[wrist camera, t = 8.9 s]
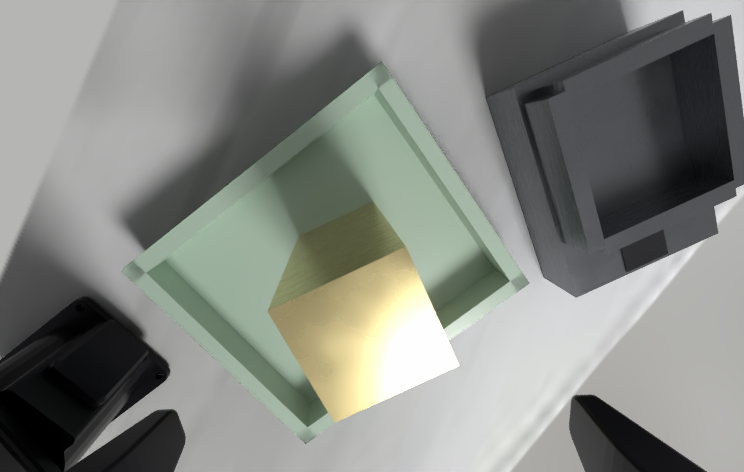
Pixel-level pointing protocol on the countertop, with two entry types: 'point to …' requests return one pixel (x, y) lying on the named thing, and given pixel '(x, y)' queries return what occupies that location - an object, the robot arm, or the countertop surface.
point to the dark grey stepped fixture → (625, 149)
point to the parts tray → (308, 211)
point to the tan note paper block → (358, 314)
